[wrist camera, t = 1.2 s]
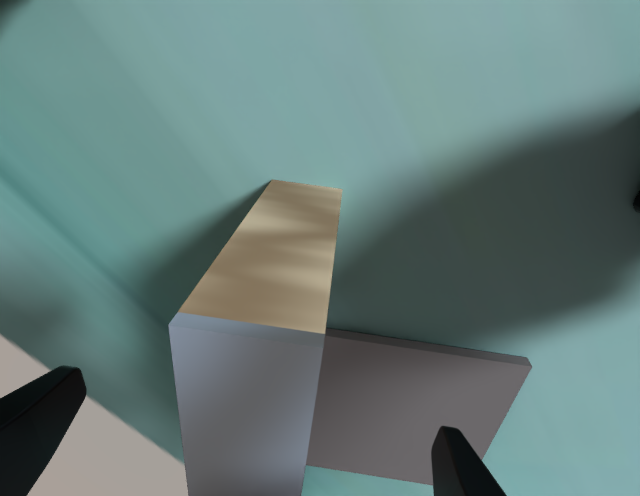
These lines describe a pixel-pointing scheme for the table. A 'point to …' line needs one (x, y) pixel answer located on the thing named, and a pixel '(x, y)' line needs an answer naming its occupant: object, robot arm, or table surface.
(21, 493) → the robot arm
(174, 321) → the wooden block
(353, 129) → the table surface
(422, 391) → the mat
